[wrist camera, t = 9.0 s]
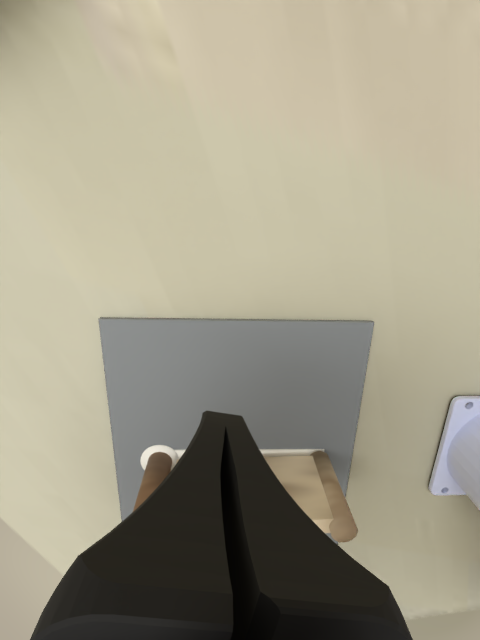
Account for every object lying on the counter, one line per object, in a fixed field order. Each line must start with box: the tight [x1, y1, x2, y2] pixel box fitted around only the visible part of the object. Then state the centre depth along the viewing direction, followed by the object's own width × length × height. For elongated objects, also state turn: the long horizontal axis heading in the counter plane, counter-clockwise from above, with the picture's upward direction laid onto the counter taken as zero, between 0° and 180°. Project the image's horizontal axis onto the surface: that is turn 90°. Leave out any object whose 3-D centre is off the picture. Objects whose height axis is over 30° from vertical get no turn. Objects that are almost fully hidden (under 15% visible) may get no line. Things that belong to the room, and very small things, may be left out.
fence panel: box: [176, 451, 358, 542], centre depth 21 cm, size 10×1×5 cm, turn 90°
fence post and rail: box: [133, 452, 172, 511], centre depth 22 cm, size 2×10×6 cm, turn 178°
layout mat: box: [99, 317, 374, 545], centre depth 23 cm, size 16×19×1 cm
